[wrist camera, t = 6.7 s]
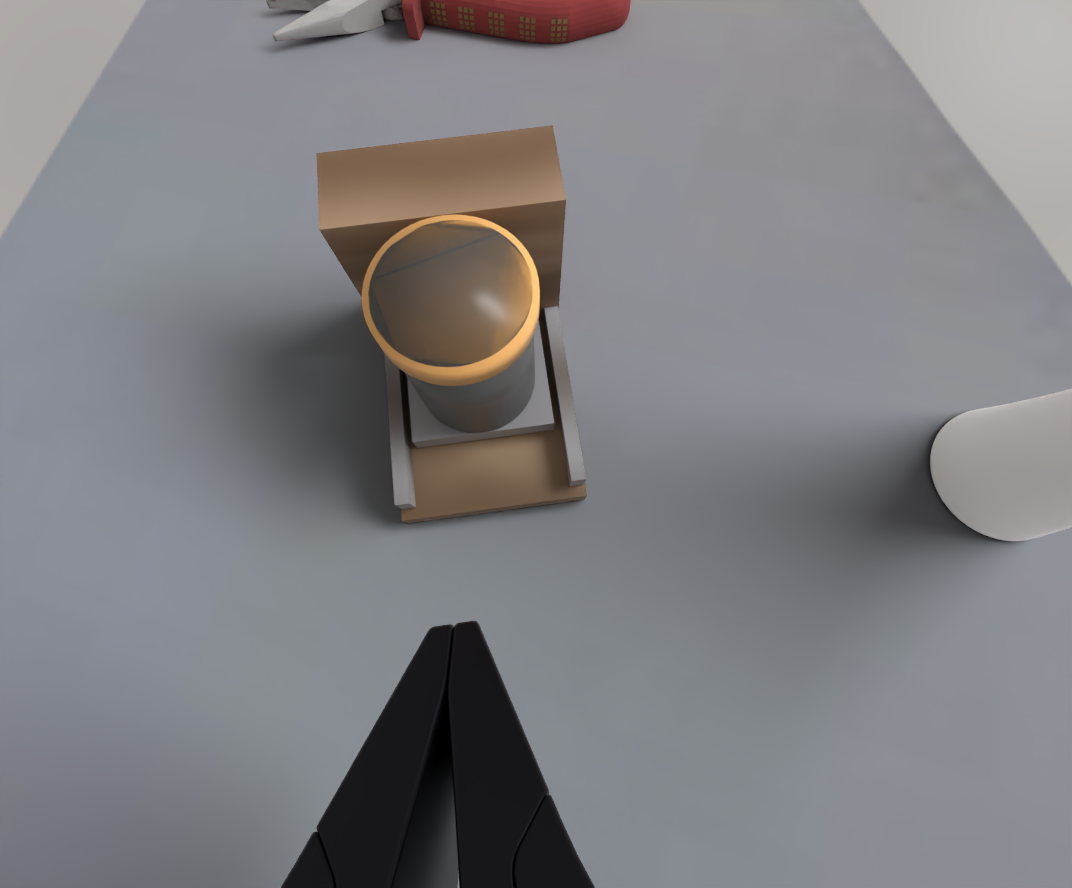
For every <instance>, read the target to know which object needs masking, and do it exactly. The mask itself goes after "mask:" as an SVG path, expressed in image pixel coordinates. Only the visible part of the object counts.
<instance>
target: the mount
mask: <svg viewBox="0 0 1072 888" xmlns="http://www.w3.org/2000/svg"><path fill="white" fill-rule="evenodd" d="M317 176H318V203H319V230H320V231H321V233H322V235H323V236H324V238H325V239H326V241H327V243H328V244H329V246H330V247H331V249H332V251H333V252H334V254H335V255H336V257H337V259H338V260H339V262H340V263H341V265H342V267H343V268H344V270H345V271H346V273H347V275H348V276H349V278H350V279H351V281H352V283H353V284H354V286H355V287H356V289H357V291H358V292H359V294H360V295H361V297H362V288H363V282H364V278H365V275H366V272H367V269H368V267H369V265H370V263H371V261H372V259H373V258H374V256H375V255H376V253H377V252H378V251H379V250H380V248H381V247H382V246H383V245H384V244H385V243H386V242H387V241H388V240H389V239H390V238H391V237H392V236H394V235H395V234H396V233H398V232H399V231H401V230H402V229H404V228H406V227H408V226H409V225H411V224H414V223H416V222H418V221H421V220H424V219H427V218H431V217H436V216H441V215H467V216H474V217H478V218H482V219H485V220H488V221H490V222H493V223H495V224H497V225H499V226H501V227H502V228H504V229H506V230H507V231H508V232H510V233H511V234H512V235H514V236H515V237H516V238H517V239H518V240H519V241H520V242H521V243H522V244H523V246H524V247H525V248H526V250H527V251H528V253H529V254H530V256H531V258H532V260H533V262H534V265H535V267H536V270H537V274H538V278H539V288H540V309H539V319H538V320H539V326H540V333H541V339H542V346H543V353H544V359H545V366H546V372H547V379H548V385H549V392H550V398H551V405H552V411H553V418H554V430H549V431H541V432H534V433H526V434H519V435H511V436H504V437H496V438H489V439H481V440H474V441H467V442H459V443H452V444H444V445H437V446H429V447H422V448H417V447H416V445H415V444H414V443H413V442H412V430H411V418H410V405H409V393H408V380H407V375H406V374H405V372H404V371H402V370H401V369H399V368H398V367H397V366H396V365H395V364H394V363H392V361H391V360H390V359H389V358H388V357H387V356H386V354H385V353H384V359H385V374H386V388H387V403H388V417H389V432H390V446H391V461H392V475H393V490H394V504H395V506H397V507H398V508H400V509H401V518H402V521H403V522H405V523H407V524H408V523H416V522H423V521H430V520H437V519H445V518H452V517H459V516H466V515H474V514H481V513H488V512H495V511H503V510H510V509H517V508H524V507H532V506H539V505H546V504H553V503H561V502H568V501H575V500H582V499H585V498H586V496H587V495H586V489H585V480H586V476H585V470H584V464H583V458H582V452H581V446H580V440H579V434H578V428H577V422H576V415H575V409H574V403H573V397H572V391H571V385H570V379H569V373H568V367H567V361H566V355H565V348H564V342H563V336H562V330H561V324H560V318H559V312H558V308H559V293H560V279H561V264H562V249H563V235H564V220H565V205H566V198H565V192H564V186H563V181H562V175H561V170H560V164H559V159H558V153H557V147H556V142H555V136H554V131H553V126H545V127H536V128H528V129H519V130H511V131H502V132H494V133H485V134H477V135H468V136H460V137H451V138H443V139H434V140H426V141H417V142H409V143H400V144H392V145H383V146H375V147H366V148H358V149H349V150H341V151H332V152H324V153H317Z"/></svg>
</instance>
